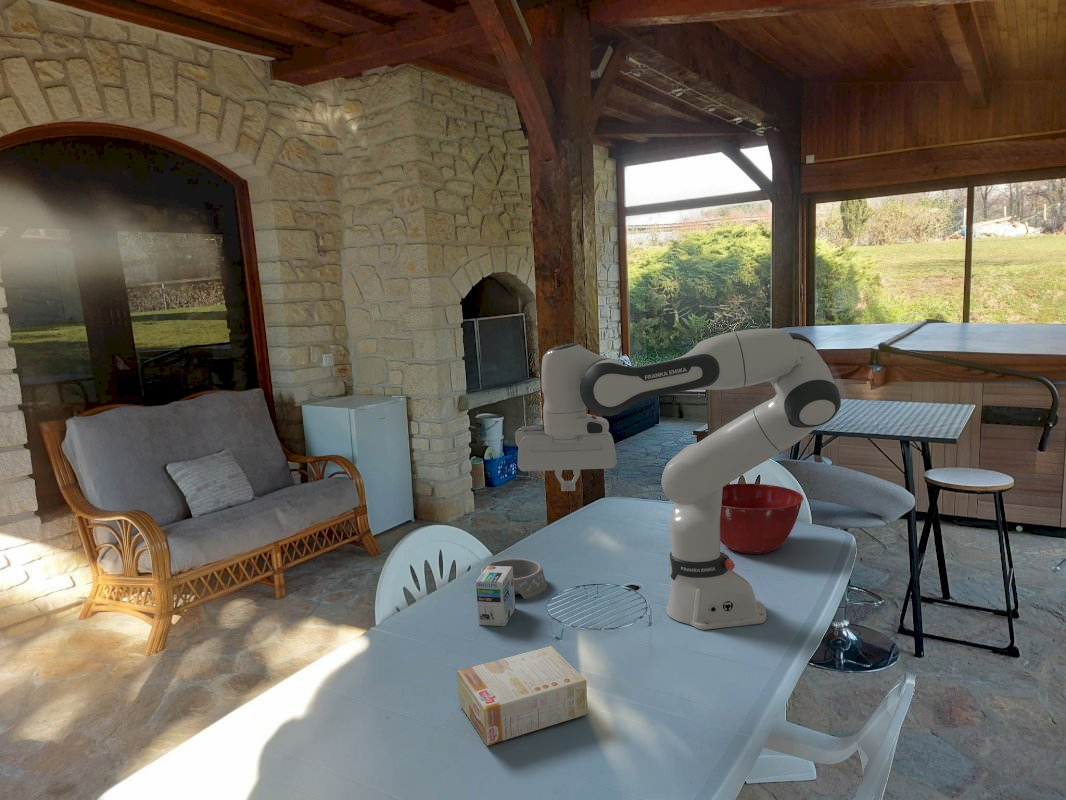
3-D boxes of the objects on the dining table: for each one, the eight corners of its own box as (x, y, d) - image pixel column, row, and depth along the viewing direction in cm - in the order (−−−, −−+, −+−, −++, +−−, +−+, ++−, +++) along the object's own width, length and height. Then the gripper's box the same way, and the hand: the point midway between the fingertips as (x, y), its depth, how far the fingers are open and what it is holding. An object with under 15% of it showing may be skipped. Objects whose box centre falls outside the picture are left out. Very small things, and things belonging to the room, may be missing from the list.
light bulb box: (505, 627, 170) (503, 582, 168) (477, 626, 171) (474, 581, 170) (516, 607, 180) (513, 565, 179) (489, 606, 181) (486, 564, 180)
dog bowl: (480, 577, 202) (479, 558, 201) (547, 574, 201) (546, 555, 201) (474, 602, 185) (472, 582, 184) (547, 599, 184) (545, 579, 184)
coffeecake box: (552, 677, 145) (458, 704, 137) (551, 643, 144) (456, 668, 136) (588, 716, 132) (485, 748, 124) (587, 679, 130) (483, 709, 123)
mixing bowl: (722, 525, 233) (721, 478, 231) (815, 539, 217) (815, 488, 214) (685, 553, 211) (683, 501, 209) (785, 570, 194) (785, 514, 192)
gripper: (512, 428, 147) (516, 496, 149) (615, 424, 146) (618, 492, 148) (515, 423, 153) (519, 487, 155) (614, 419, 152) (616, 484, 154)
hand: (568, 490), depth 151 cm, fingers closed
